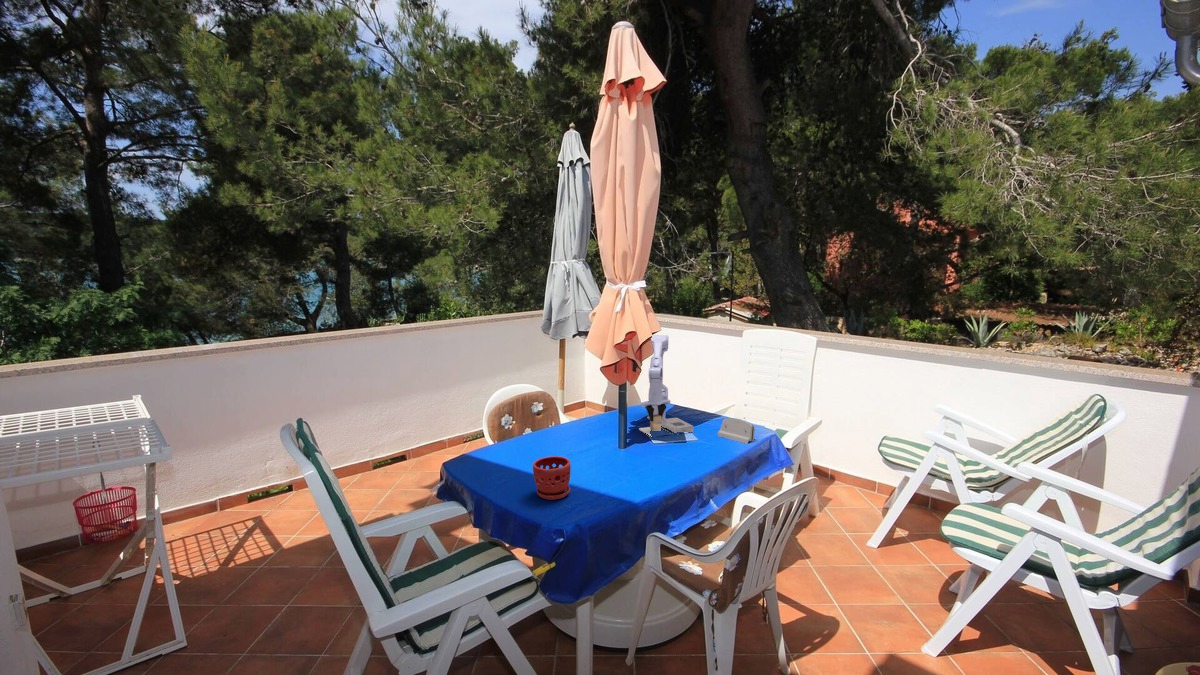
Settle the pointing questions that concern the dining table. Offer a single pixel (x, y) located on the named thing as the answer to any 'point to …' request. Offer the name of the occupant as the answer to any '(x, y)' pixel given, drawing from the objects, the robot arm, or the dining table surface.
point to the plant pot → (552, 477)
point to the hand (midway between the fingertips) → (655, 420)
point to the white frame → (676, 425)
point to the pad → (646, 430)
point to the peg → (656, 423)
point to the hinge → (737, 430)
